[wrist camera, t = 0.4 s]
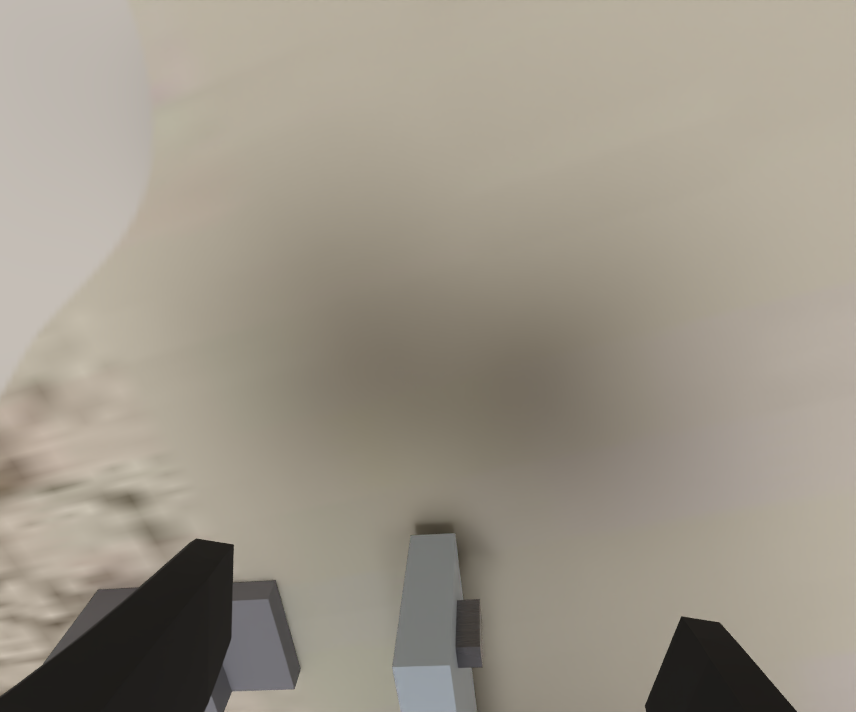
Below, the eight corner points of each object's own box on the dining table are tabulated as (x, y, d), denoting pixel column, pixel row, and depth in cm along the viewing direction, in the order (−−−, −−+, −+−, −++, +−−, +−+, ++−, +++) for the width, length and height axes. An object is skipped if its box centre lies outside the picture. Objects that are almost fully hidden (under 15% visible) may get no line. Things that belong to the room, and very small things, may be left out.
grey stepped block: (302, 662, 25) (276, 750, 22) (137, 668, 26) (88, 754, 23) (277, 574, 23) (245, 655, 20) (101, 584, 24) (43, 663, 21)
